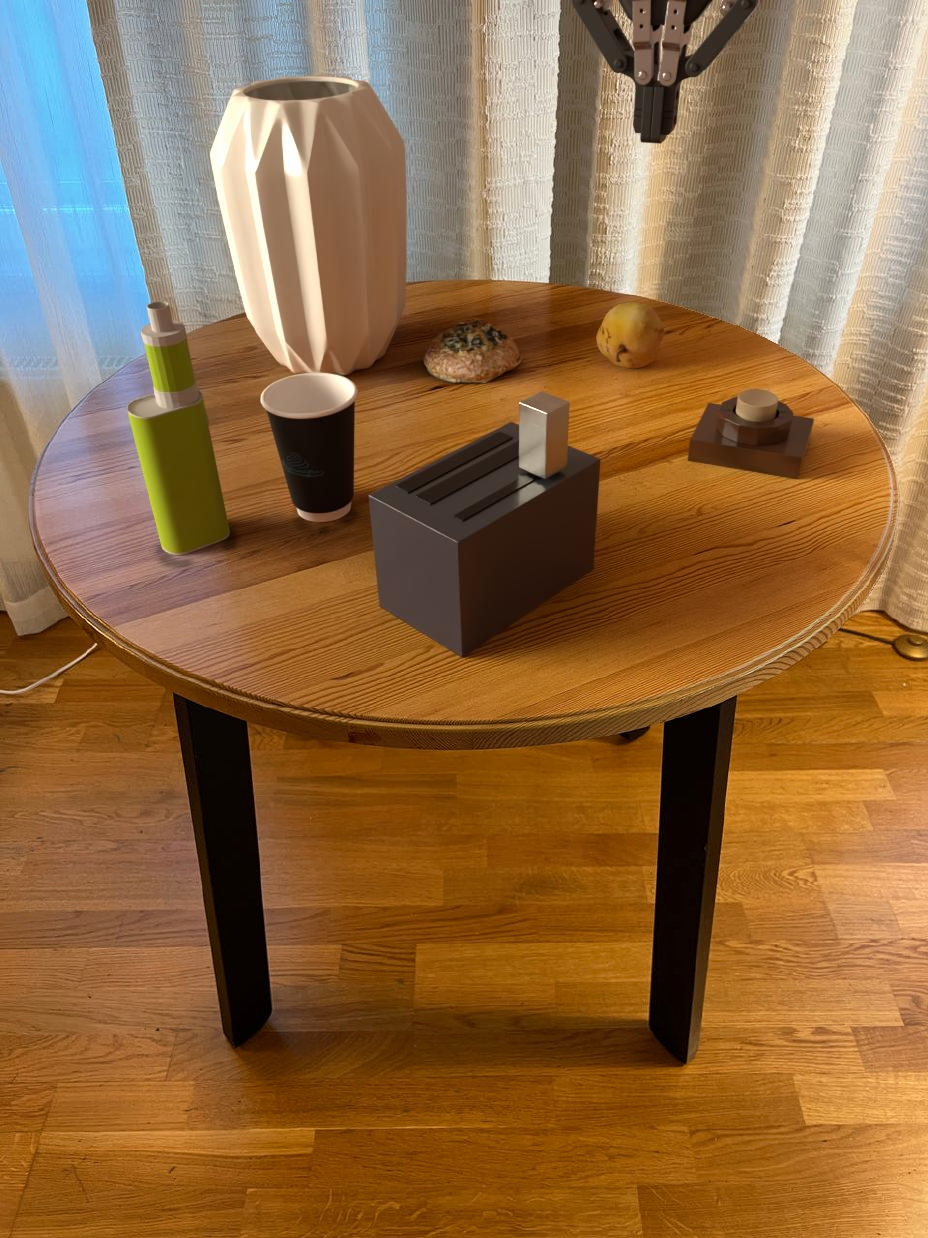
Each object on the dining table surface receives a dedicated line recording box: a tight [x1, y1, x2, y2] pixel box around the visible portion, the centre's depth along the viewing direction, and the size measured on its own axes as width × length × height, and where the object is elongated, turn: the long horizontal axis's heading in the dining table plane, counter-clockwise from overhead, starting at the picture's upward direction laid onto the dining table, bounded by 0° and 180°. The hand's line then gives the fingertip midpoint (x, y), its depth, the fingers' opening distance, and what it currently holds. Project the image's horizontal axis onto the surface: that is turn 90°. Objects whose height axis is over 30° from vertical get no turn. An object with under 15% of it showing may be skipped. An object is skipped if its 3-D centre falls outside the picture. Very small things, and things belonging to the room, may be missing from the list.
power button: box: [735, 388, 779, 422], centre depth 93 cm, size 4×4×2 cm
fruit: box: [595, 301, 665, 369], centre depth 110 cm, size 7×7×10 cm
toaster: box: [368, 421, 601, 659], centre depth 77 cm, size 15×9×10 cm, turn 135°
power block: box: [687, 396, 815, 480], centre depth 95 cm, size 10×8×4 cm
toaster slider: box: [518, 390, 570, 479], centre depth 72 cm, size 2×3×5 cm
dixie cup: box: [260, 373, 359, 523], centre depth 87 cm, size 8×8×11 cm
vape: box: [126, 300, 231, 556], centre depth 81 cm, size 4×6×20 cm, turn 126°
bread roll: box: [422, 318, 523, 384], centre depth 112 cm, size 11×11×5 cm
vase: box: [209, 74, 408, 376], centre depth 107 cm, size 20×20×28 cm
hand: (653, 140), depth 73 cm, fingers closed
